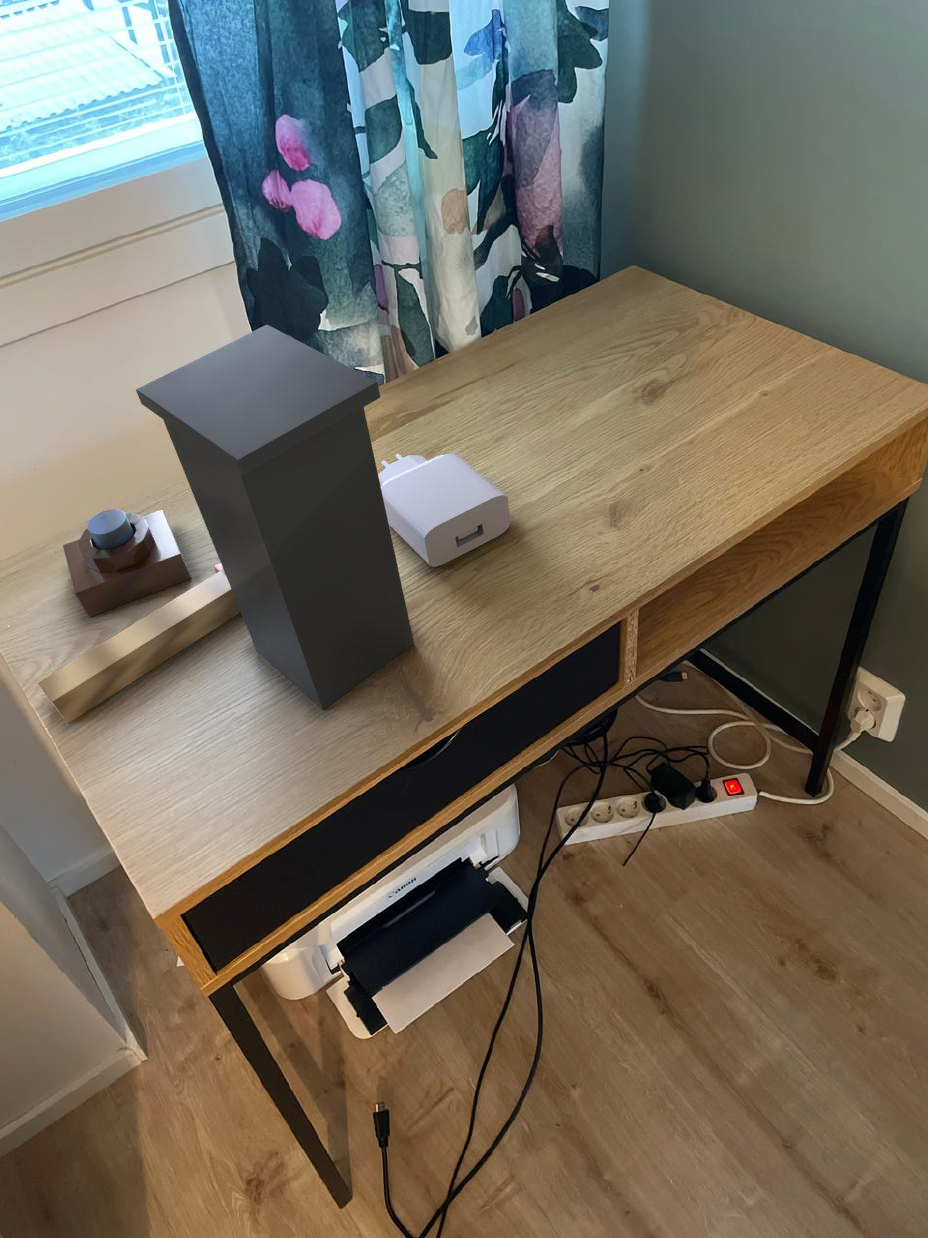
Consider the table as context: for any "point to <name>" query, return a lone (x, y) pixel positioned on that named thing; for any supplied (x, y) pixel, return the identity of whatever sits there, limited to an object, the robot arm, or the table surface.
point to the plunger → (110, 529)
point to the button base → (126, 565)
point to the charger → (442, 506)
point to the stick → (141, 647)
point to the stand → (291, 504)
